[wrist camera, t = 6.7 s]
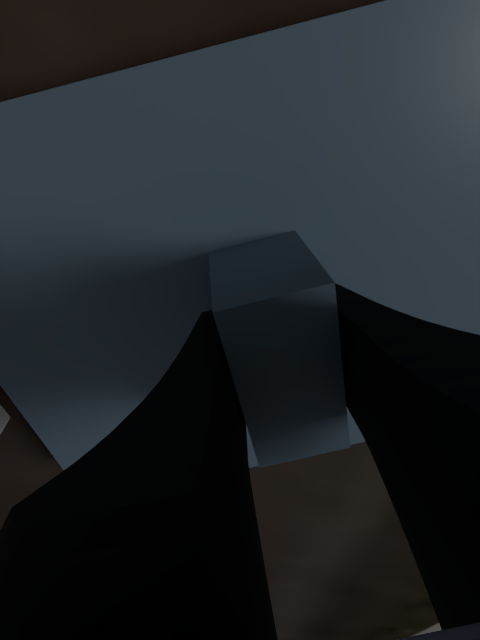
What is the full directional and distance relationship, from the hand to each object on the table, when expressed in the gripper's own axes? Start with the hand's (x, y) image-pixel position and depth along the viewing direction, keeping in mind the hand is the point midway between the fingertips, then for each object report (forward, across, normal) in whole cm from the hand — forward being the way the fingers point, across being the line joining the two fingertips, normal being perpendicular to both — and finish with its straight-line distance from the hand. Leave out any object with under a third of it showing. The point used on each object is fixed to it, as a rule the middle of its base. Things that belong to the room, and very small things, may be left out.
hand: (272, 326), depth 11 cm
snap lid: (+2, 0, 0) cm, 2 cm away
